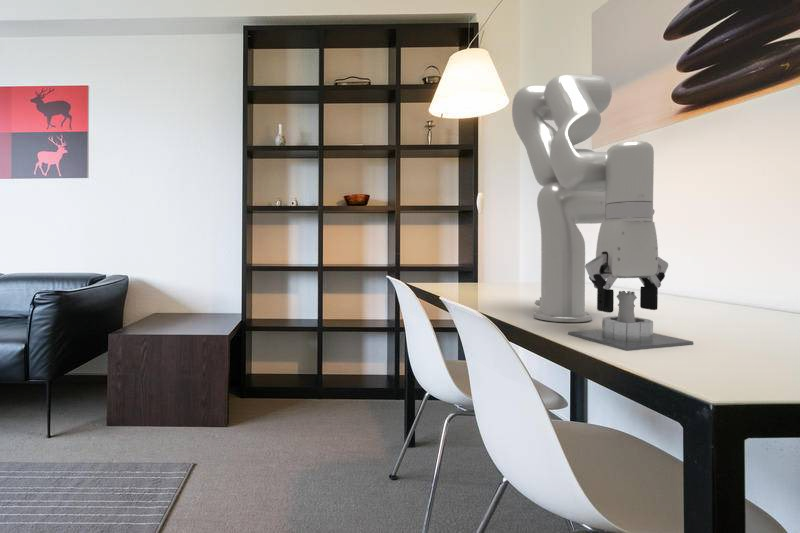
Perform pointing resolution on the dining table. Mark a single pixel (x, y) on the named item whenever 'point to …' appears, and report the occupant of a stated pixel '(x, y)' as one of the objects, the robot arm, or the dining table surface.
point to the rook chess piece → (626, 306)
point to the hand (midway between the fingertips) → (627, 310)
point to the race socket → (629, 335)
